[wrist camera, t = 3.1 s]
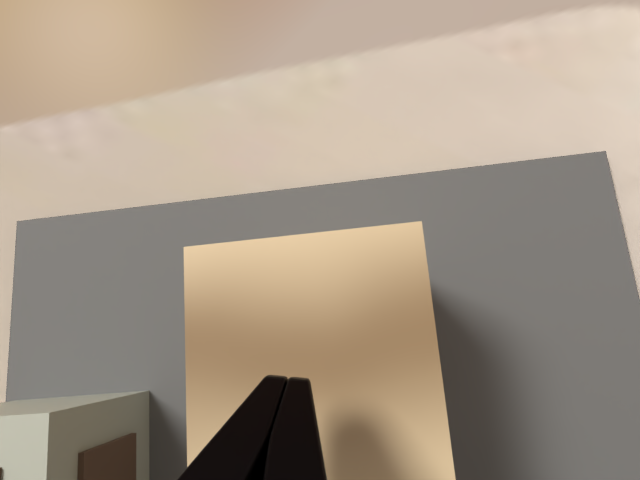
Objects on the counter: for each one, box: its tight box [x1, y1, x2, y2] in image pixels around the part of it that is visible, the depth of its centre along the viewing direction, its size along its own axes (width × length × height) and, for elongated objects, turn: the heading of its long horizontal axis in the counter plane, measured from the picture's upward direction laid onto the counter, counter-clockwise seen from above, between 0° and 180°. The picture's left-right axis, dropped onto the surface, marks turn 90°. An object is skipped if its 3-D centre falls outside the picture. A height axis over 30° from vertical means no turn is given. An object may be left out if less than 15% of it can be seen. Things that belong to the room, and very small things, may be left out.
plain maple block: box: [184, 221, 456, 480], centre depth 15 cm, size 6×6×8 cm
